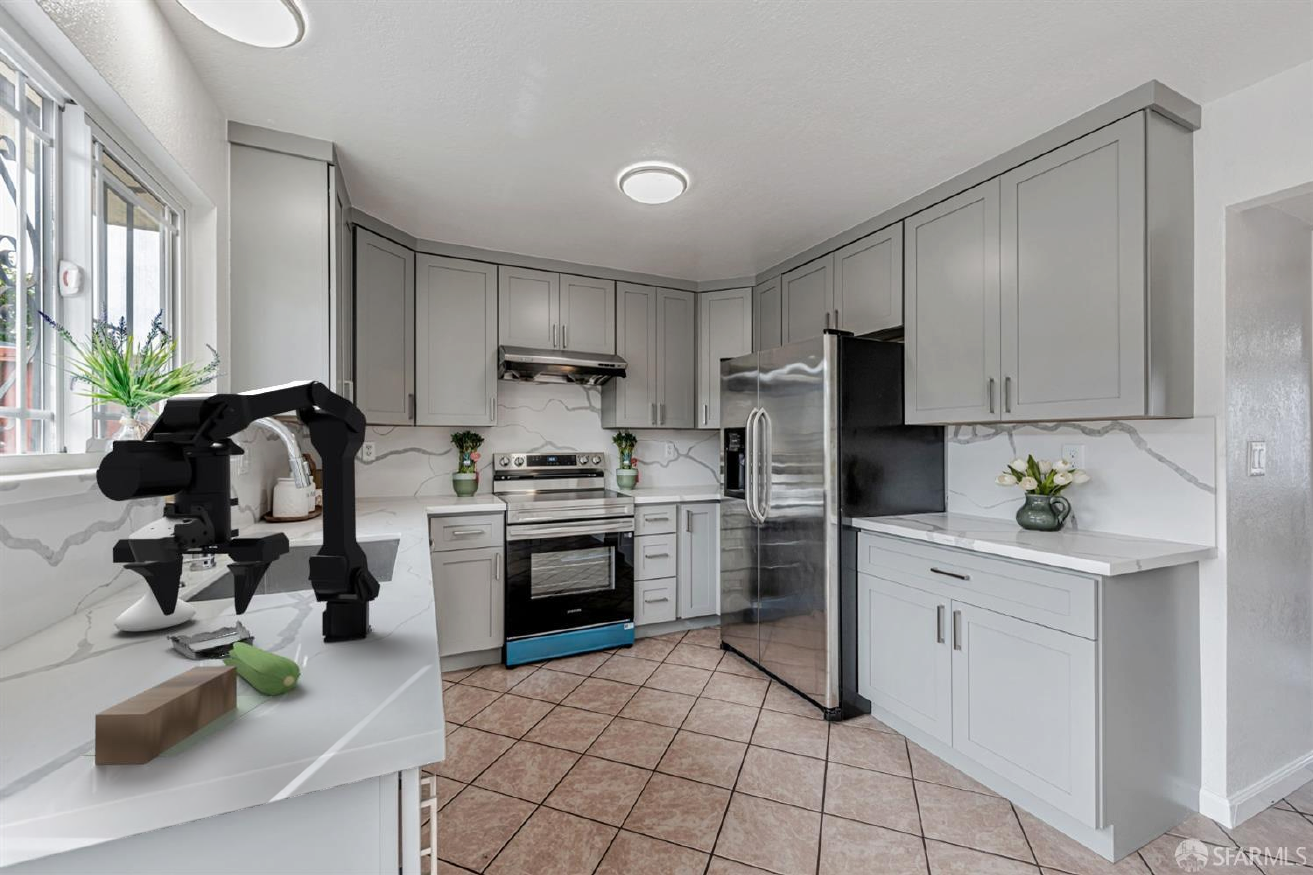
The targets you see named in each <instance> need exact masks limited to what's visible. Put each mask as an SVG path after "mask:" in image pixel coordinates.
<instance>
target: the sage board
mask: <svg viewBox="0 0 1313 875" xmlns="http://www.w3.org/2000/svg"><path fill="white" fill-rule="evenodd" d="M273 697H274V695H237V707H235V708H234V709H232V710H230V711H229V712H227V713H226V714H224V715H222V716H221V717H219V718H218V719H216V720H214V721H213V722H211V723H209V724H208V725H206V726H205V727H203V728H201V729H200V730H198V731H197V732H195V733H193V734H192V735H190V736H189V737H187V738H185V739H184V740H182V741H181V742H179V743H177V744H176V745H174V746H173V747H171V748H169V749H168V750H166V751H164V752H163V753H161V754H160V755H158V756H157V757H178V756H180V755H181V754H183V753H184V752H186V751H188V750H189V749H191V748H192V747H195V746H196V745H197V744H199V743H201V742H203V741H204V740H205V739H207V738H209V737H210V736H212V735H214V734H215V733H216V732H218V731H220V730H221V729H223V728H225V727H226V726H228V725H230V724H232V723H233V722H235V721H236V720H237V719H240V718H241V717H243V716H245V715H246V714H248V713H250V712H251V711H252V710H254V709H256V708H257V707H259V706H260V705H262V704H263V703H265V702H267V701H268V700H270V699H271V698H273ZM83 756H84V757H85V756H89V757H90V756H92V757H93V756H94V757H95V749H93V750H90V751H88V752H87V753H85V754H83Z"/></svg>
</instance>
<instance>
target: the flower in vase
mask: <svg viewBox="0 0 1313 875" xmlns="http://www.w3.org/2000/svg"><path fill="white" fill-rule="evenodd" d="M163 502H164V505H163V506H164V507H165V503H169V502H174V495H171V496H164V499H163ZM164 507H163V508H164ZM196 613H197V611H196V609H195V607H193V606H192V605H191V604H189V603H188V602H186V601H185V600H182V599H180V598H178V599H177V604H176V607H175V611H174V613H173V614H171V615H168V616H165V615H164V614H163V612H162V610H161V608H160V606H159V604H158V602H157V600H156V598H155V596H154V594H153V592H152V590H151V588H150V586H149V585H148V586H147V590H146V592H145V594H144V595H143V597H141V598H140V599H139V600H138V601H136V602H135V603H134V604H133V605H131V606H130V607H128V608H127V609H126V610H125V611H123V613H122V612H121V614H120V615H119V616H118V617H117V618H116V619H115V621H114V624H113V625H114V627H115V628H116V629H118V630H120V631H126V632H147V631H155V630H161V629H167V628H170V627H173V626H178V625H180V624H183V623H185V622H188V621H189V620H191V619H192V618H193V617H194V616H195V615H196Z"/></svg>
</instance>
